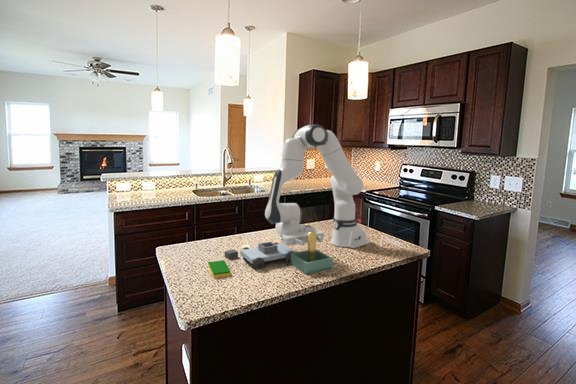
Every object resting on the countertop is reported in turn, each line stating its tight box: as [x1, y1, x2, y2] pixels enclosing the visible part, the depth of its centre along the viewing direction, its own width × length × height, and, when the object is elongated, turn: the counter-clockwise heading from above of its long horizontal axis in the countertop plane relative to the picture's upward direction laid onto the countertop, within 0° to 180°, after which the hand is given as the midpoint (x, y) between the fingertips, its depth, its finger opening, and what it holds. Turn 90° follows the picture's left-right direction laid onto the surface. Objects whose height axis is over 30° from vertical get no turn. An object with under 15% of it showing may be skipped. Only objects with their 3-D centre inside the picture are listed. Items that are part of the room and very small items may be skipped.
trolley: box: [239, 241, 296, 270], centre depth 152 cm, size 22×16×8 cm
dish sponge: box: [207, 259, 232, 279], centre depth 140 cm, size 7×14×2 cm, turn 22°
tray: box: [290, 248, 334, 276], centre depth 145 cm, size 14×14×5 cm
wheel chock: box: [224, 249, 239, 260], centre depth 156 cm, size 5×4×3 cm
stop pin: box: [307, 231, 317, 262], centre depth 144 cm, size 4×4×15 cm
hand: (312, 241), depth 144 cm, fingers open, 8 cm apart
